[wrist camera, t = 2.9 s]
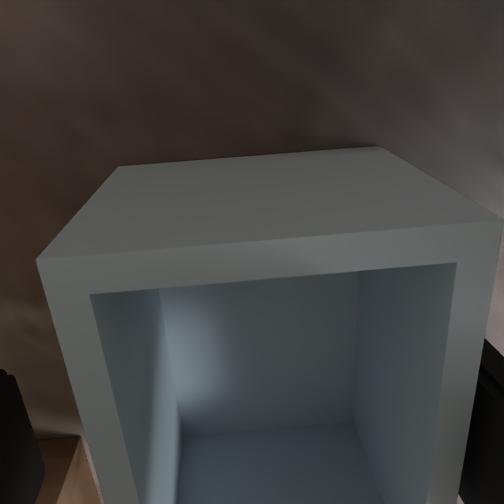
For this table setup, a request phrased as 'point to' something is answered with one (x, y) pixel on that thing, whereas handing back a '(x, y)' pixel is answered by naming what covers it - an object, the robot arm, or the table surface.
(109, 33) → the table surface
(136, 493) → the bluegrey crate
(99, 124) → the table surface
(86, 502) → the walnut crate
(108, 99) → the table surface
